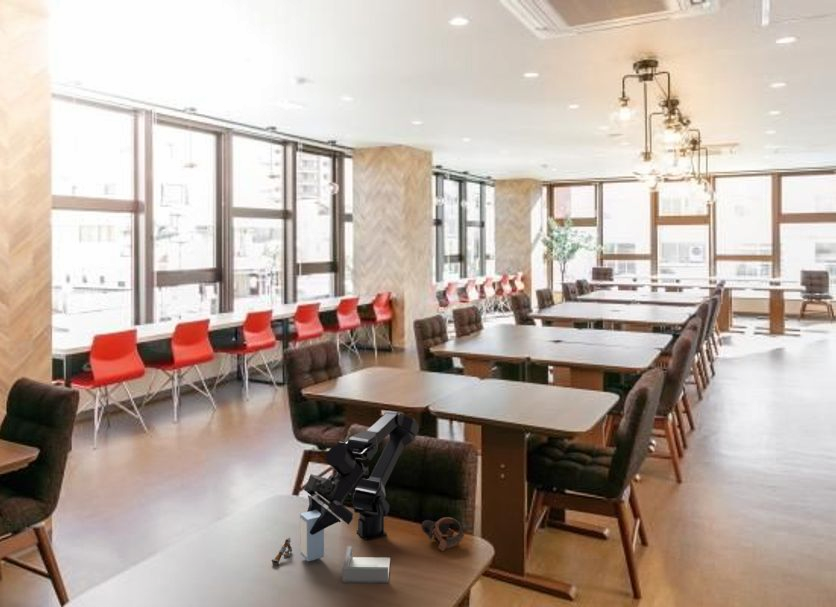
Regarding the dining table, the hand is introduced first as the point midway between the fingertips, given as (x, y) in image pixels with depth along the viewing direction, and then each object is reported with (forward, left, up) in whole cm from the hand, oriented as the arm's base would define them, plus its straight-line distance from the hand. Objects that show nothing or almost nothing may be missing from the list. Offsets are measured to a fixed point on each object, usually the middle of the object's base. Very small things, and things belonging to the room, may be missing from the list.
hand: (307, 530), depth 171 cm
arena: (-11, +13, -8) cm, 18 cm away
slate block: (-1, 0, -7) cm, 7 cm away
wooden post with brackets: (+5, -5, -9) cm, 11 cm away
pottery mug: (-35, +10, -9) cm, 38 cm away
